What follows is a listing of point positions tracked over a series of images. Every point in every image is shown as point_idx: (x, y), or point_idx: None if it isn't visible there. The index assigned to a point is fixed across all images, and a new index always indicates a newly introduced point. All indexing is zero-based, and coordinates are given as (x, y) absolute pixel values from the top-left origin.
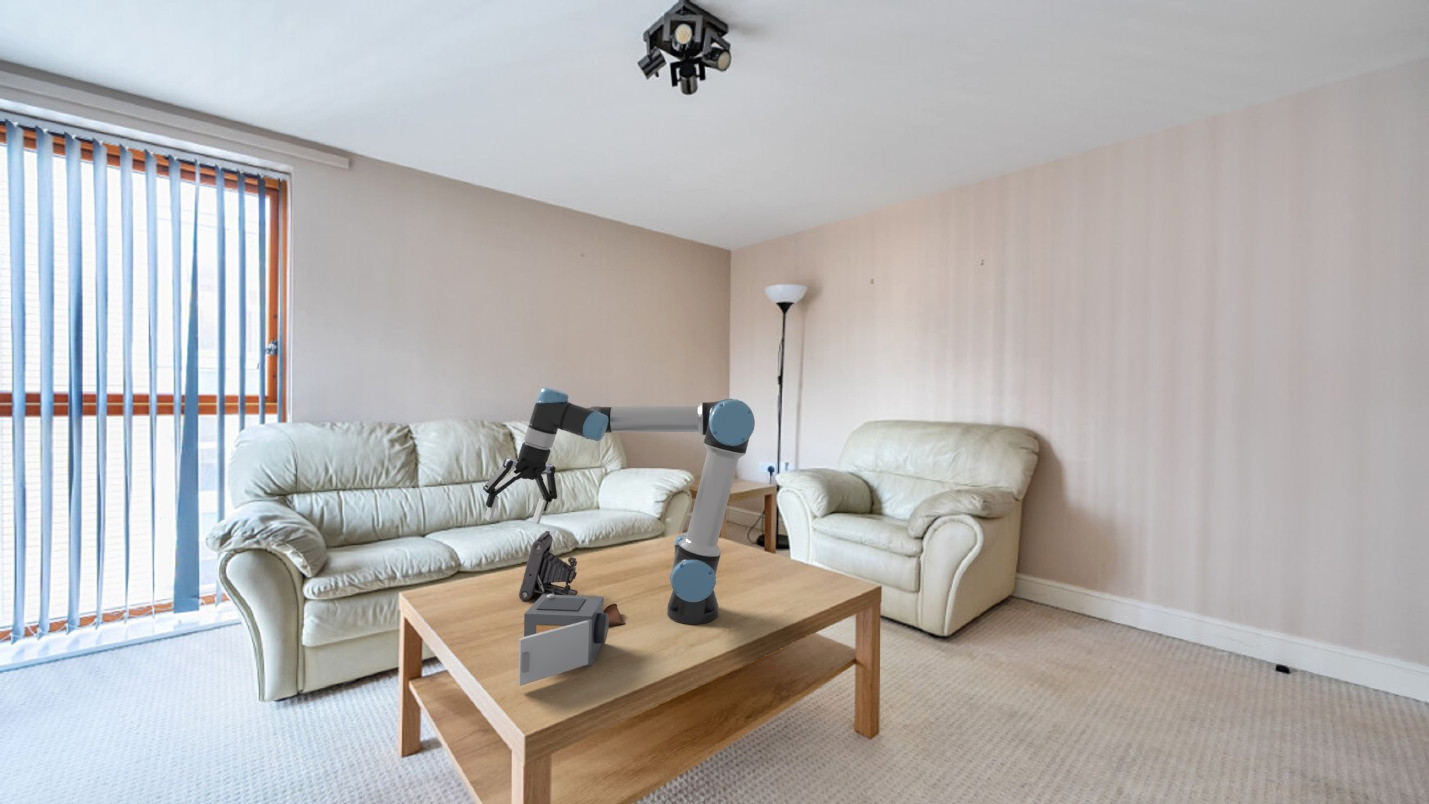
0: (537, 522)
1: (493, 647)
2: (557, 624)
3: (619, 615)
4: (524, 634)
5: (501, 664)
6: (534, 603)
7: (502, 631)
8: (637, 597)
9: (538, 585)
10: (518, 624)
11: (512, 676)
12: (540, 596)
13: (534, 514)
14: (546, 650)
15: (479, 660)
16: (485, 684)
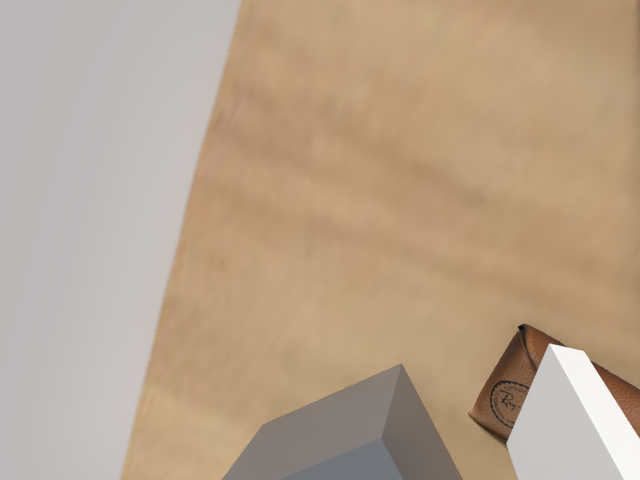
0: (514, 457)
1: (279, 262)
2: None
3: None
4: (229, 471)
5: (226, 369)
6: (287, 478)
7: (374, 187)
8: None
9: None
10: (449, 189)
11: (203, 446)
12: (358, 446)
13: (572, 398)
14: None
15: (205, 293)
16: (140, 413)
